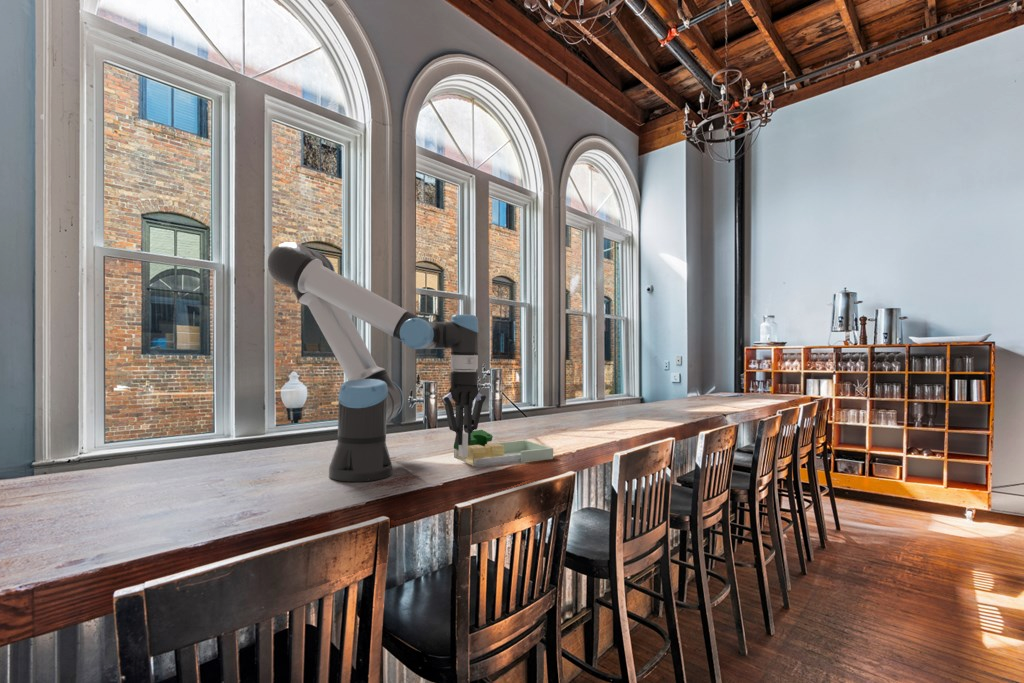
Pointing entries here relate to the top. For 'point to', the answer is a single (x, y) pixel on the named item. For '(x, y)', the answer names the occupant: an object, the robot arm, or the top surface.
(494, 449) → the pale yellow cube
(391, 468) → the robot arm
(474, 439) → the clamp
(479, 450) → the chip
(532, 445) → the tray
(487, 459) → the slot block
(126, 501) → the top surface
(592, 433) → the top surface
